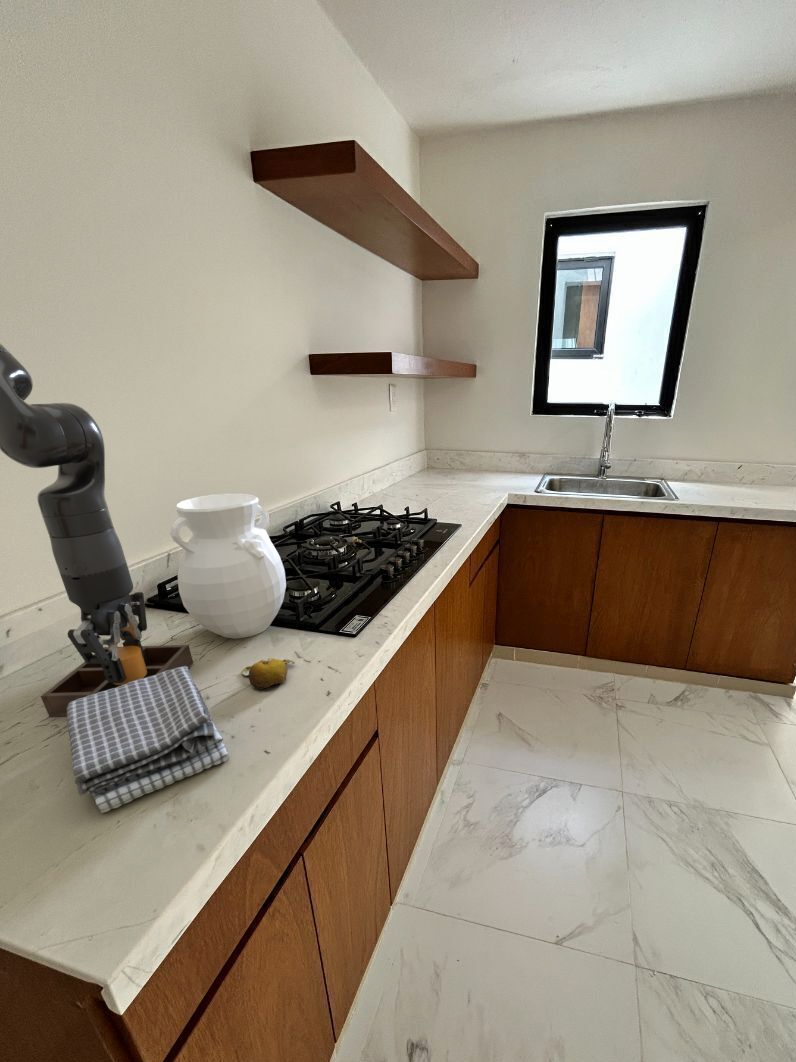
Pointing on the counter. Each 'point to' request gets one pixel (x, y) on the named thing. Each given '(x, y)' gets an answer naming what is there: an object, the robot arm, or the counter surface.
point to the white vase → (228, 565)
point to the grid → (93, 677)
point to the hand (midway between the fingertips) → (127, 671)
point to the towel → (141, 737)
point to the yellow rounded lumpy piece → (267, 672)
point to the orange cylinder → (132, 663)
